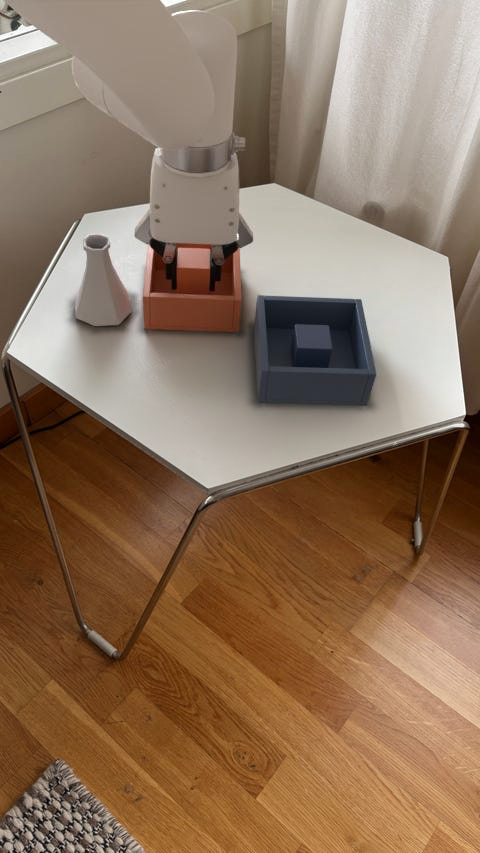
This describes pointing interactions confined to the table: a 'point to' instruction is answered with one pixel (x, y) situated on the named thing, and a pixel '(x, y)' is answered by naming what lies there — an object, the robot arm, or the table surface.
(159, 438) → the table surface
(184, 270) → the terracotta block
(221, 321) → the terracotta bin
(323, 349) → the slate block
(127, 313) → the flask
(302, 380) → the slate bin
